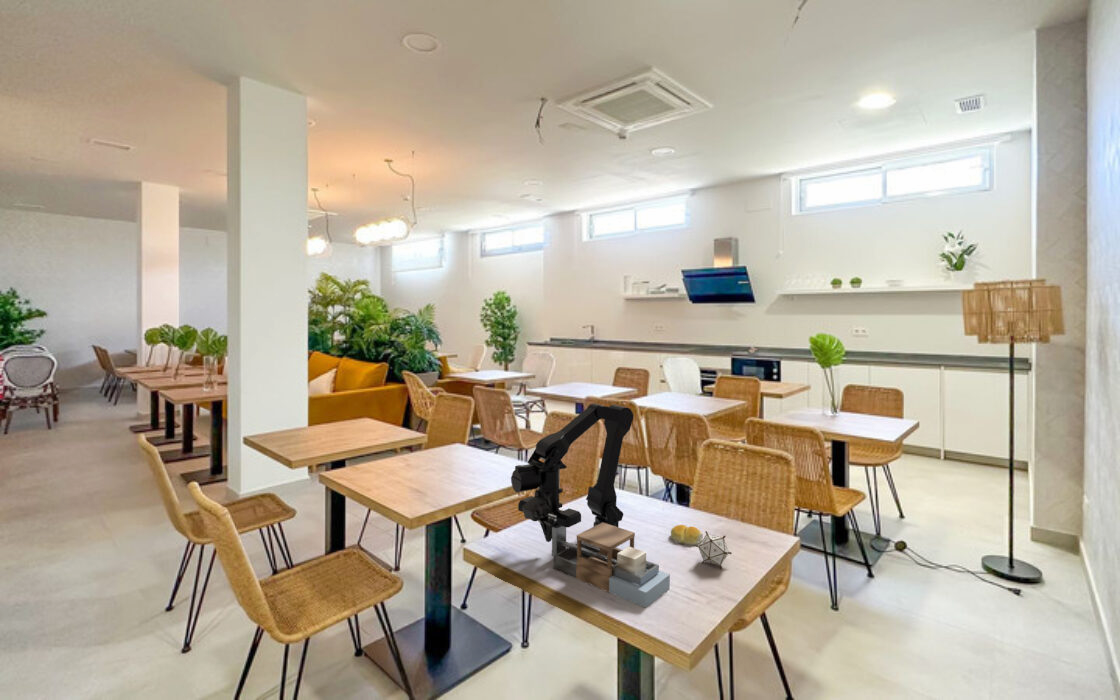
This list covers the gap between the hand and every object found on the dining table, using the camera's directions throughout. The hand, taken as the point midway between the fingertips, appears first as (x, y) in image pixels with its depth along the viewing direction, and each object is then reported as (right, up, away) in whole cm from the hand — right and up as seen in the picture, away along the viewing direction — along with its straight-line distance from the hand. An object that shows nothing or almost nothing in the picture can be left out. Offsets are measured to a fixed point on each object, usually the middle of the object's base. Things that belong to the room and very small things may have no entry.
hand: (548, 541), depth 142 cm
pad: (+22, -5, -19) cm, 29 cm away
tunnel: (+12, -4, -10) cm, 16 cm away
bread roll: (+41, -4, +11) cm, 42 cm away
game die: (+44, -4, -5) cm, 44 cm away
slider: (+13, -3, -11) cm, 18 cm away
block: (+20, -1, -17) cm, 27 cm away
